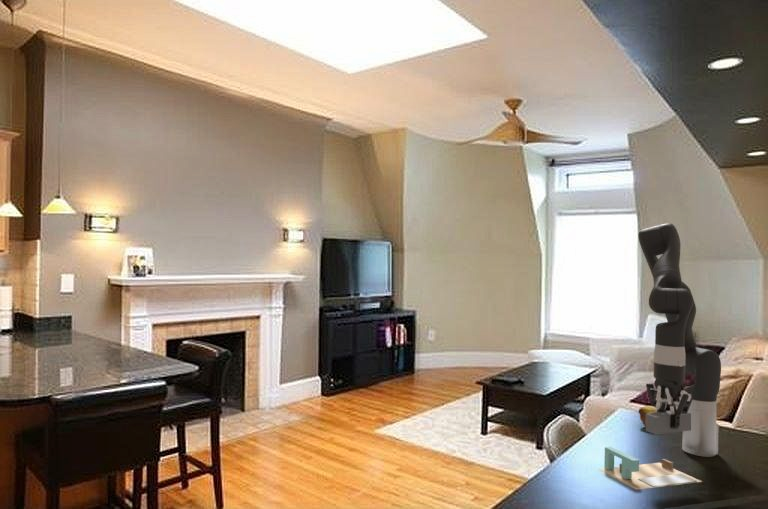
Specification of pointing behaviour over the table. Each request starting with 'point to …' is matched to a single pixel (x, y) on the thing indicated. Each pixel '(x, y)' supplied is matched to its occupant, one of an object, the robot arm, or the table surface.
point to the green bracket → (628, 462)
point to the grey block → (666, 423)
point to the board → (652, 475)
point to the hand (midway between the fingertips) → (668, 425)
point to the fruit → (646, 412)
